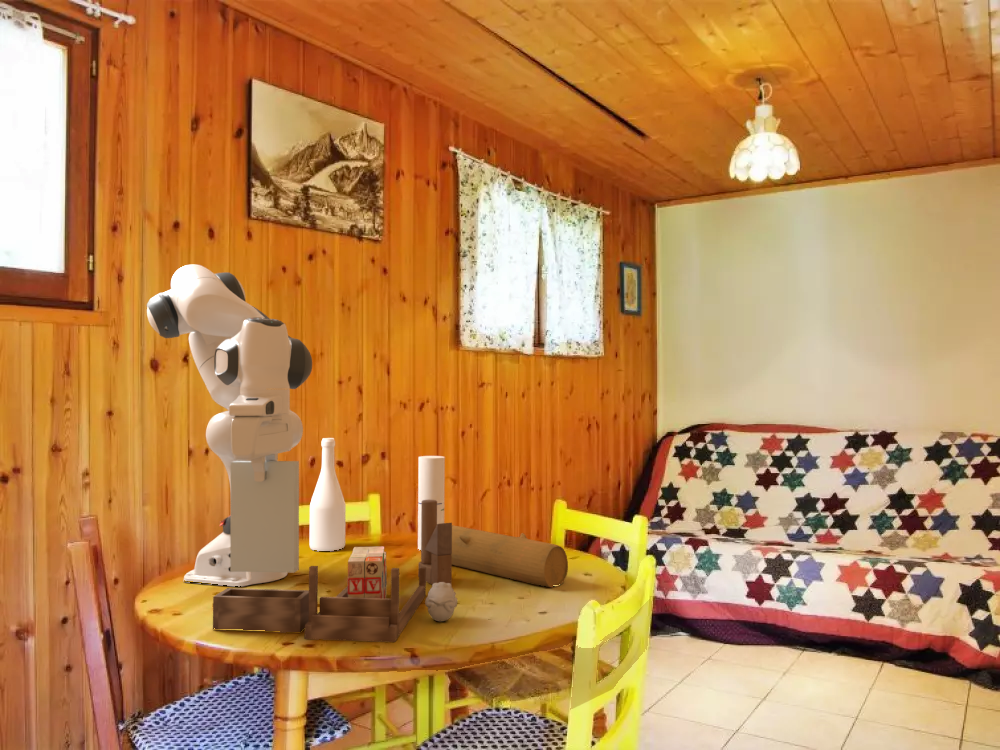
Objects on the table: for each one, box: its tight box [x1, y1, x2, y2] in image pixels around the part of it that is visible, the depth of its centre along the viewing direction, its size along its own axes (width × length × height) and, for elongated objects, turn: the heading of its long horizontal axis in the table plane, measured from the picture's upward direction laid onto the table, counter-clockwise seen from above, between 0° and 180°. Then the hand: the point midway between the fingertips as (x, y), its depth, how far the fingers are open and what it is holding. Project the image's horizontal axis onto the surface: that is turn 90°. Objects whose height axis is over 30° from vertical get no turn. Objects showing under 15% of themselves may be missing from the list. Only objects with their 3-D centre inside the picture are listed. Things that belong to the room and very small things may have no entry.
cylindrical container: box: [417, 455, 446, 551], centre depth 209 cm, size 7×7×25 cm
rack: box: [304, 565, 427, 643], centre depth 148 cm, size 16×30×12 cm, turn 175°
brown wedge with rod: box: [418, 500, 453, 586], centre depth 173 cm, size 4×11×18 cm, turn 29°
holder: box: [212, 587, 309, 633], centre depth 140 cm, size 16×6×6 cm, turn 85°
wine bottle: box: [308, 437, 347, 552], centre depth 208 cm, size 10×10×30 cm
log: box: [451, 524, 569, 588], centre depth 183 cm, size 38×10×10 cm, turn 47°
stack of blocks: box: [347, 545, 388, 599], centre depth 152 cm, size 21×6×12 cm, turn 6°
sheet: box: [230, 460, 300, 574], centre depth 141 cm, size 12×2×20 cm, turn 85°
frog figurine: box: [424, 582, 458, 622], centre depth 145 cm, size 6×7×7 cm
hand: (264, 479), depth 141 cm, fingers closed on sheet, 2 cm apart
